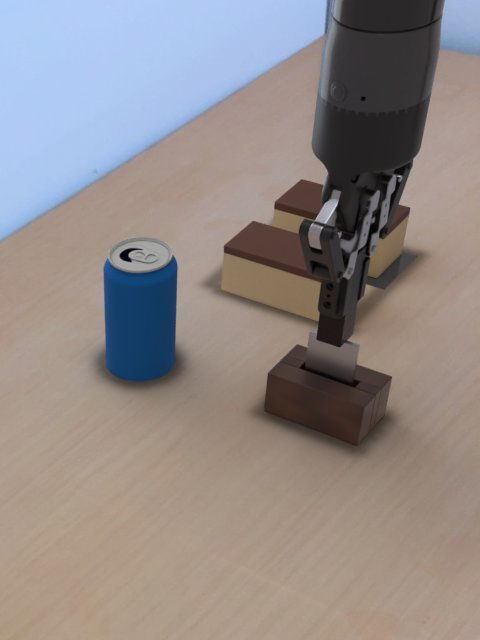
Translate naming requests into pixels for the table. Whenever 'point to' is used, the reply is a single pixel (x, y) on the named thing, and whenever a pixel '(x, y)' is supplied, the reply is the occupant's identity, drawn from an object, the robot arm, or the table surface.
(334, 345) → the knife
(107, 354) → the beverage can
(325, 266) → the robot arm
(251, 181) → the table surface
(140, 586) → the table surface
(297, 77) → the table surface
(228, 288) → the cake slice
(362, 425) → the knife block
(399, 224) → the block
